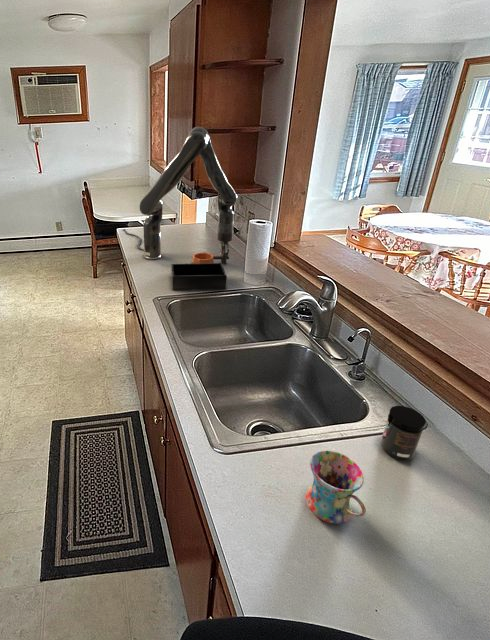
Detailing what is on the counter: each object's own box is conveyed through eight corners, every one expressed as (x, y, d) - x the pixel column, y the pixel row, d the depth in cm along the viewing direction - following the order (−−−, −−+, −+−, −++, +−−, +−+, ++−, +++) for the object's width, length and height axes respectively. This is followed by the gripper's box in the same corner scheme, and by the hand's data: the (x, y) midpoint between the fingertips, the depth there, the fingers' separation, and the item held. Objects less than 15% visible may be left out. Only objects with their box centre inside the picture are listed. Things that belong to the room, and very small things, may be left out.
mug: (293, 493, 83) (299, 457, 78) (329, 480, 85) (337, 445, 81) (335, 549, 72) (346, 510, 68) (375, 533, 75) (388, 495, 70)
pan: (193, 268, 197) (194, 259, 195) (192, 260, 206) (192, 252, 204) (229, 267, 196) (230, 259, 194) (226, 260, 205) (227, 252, 203)
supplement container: (404, 439, 94) (415, 406, 90) (419, 463, 88) (432, 428, 84) (374, 438, 95) (384, 404, 91) (387, 460, 89) (398, 426, 85)
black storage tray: (171, 276, 188) (171, 263, 186) (220, 276, 187) (221, 263, 184) (172, 290, 175) (172, 276, 172) (225, 289, 173) (226, 275, 170)
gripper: (235, 234, 187) (233, 268, 194) (230, 226, 199) (228, 258, 206) (219, 235, 187) (217, 268, 194) (215, 226, 200) (214, 258, 207)
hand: (223, 263), depth 200 cm, fingers closed on pan
